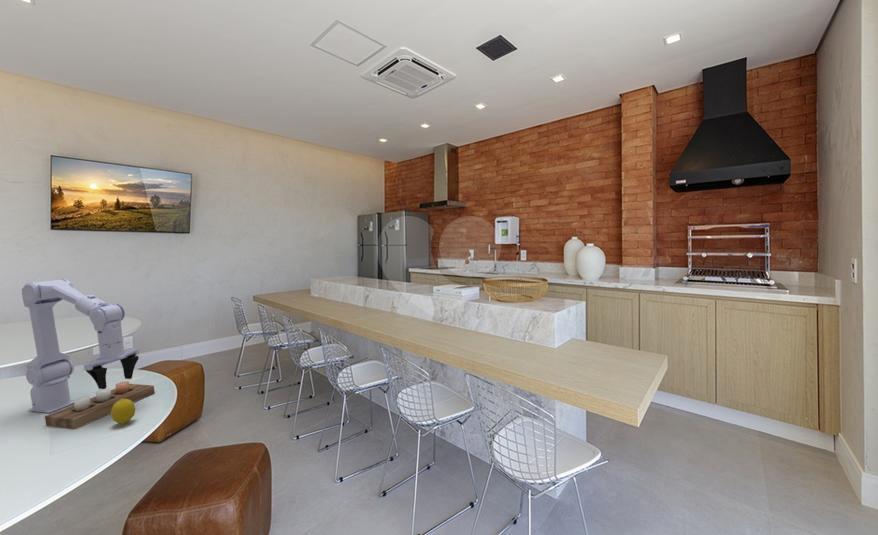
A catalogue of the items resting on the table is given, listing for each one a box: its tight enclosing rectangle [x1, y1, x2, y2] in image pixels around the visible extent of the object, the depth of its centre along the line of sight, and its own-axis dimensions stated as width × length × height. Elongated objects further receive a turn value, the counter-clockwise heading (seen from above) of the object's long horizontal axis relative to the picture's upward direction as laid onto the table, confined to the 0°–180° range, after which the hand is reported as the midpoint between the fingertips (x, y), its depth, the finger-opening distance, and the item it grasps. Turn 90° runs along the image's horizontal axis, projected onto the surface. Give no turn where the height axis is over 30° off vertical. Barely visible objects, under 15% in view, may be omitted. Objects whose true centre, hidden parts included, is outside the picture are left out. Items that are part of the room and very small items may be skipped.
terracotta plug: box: [115, 381, 130, 394], centre depth 125 cm, size 4×4×3 cm
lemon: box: [110, 398, 136, 425], centre depth 108 cm, size 6×6×8 cm
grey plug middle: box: [95, 388, 111, 402], centre depth 119 cm, size 4×4×3 cm
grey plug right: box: [73, 396, 91, 411], centre depth 113 cm, size 4×4×3 cm
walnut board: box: [44, 383, 156, 430], centre depth 119 cm, size 12×24×3 cm, turn 168°
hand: (116, 383), depth 114 cm, fingers open, 7 cm apart
